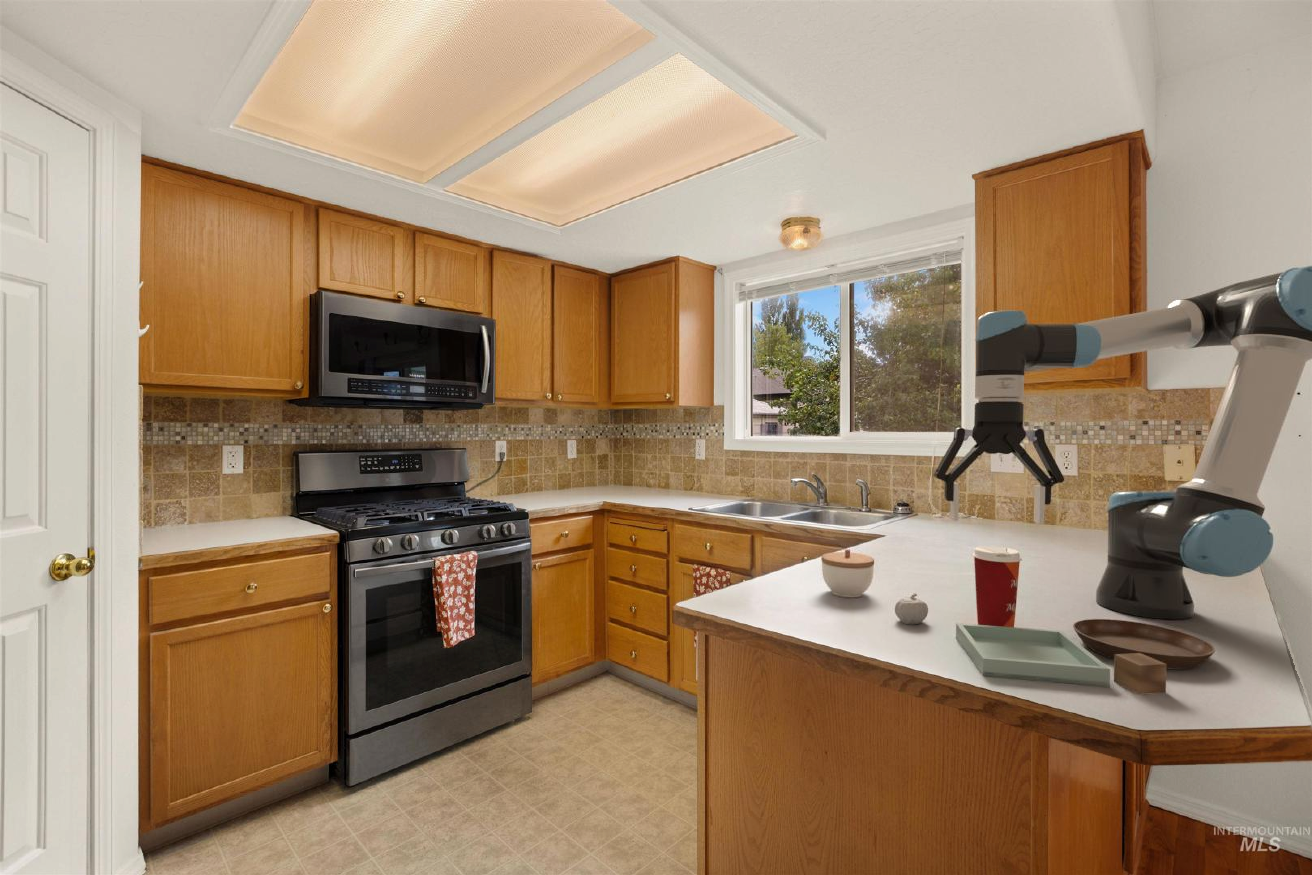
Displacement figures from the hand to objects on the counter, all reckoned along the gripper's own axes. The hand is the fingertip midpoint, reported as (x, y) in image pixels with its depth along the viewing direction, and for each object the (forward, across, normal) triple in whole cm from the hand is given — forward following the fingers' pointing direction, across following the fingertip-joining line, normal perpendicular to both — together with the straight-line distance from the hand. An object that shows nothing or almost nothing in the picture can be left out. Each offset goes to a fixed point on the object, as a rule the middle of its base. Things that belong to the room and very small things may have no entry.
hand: (995, 521), depth 109 cm
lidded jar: (+19, -24, +17) cm, 35 cm away
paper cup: (+19, 0, 0) cm, 19 cm away
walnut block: (+19, +12, -22) cm, 32 cm away
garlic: (+19, -14, 0) cm, 24 cm away
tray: (+19, 0, -15) cm, 24 cm away
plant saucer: (+19, +19, -7) cm, 28 cm away
